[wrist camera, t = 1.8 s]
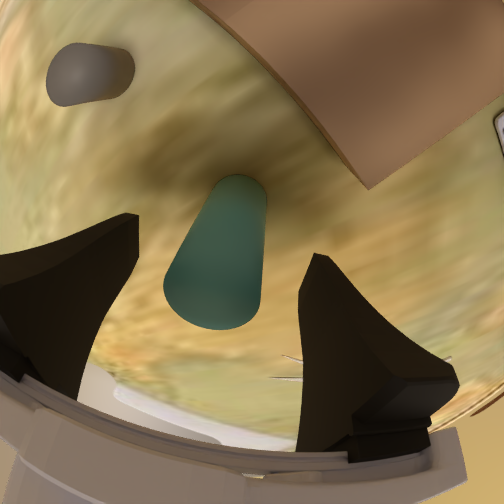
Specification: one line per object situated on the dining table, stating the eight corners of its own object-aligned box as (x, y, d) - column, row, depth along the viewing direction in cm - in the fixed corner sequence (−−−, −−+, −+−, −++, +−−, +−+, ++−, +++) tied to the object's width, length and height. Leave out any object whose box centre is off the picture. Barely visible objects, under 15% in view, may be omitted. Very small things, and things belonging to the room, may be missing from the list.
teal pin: (278, 205, 15) (280, 303, 9) (236, 236, 17) (212, 340, 10) (240, 163, 14) (209, 235, 8) (199, 198, 16) (145, 288, 9)
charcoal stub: (145, 67, 11) (106, 64, 8) (110, 109, 13) (68, 119, 9) (113, 39, 10) (71, 31, 7) (82, 80, 12) (37, 85, 8)
